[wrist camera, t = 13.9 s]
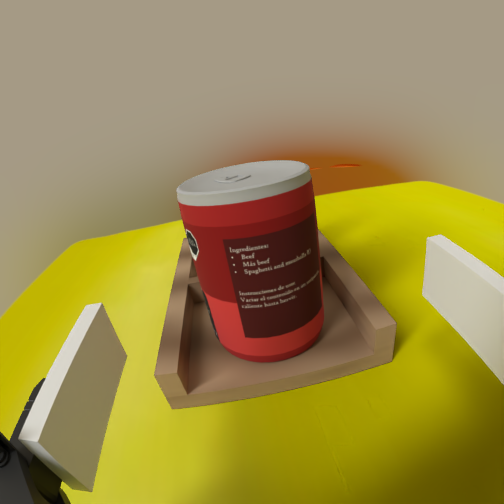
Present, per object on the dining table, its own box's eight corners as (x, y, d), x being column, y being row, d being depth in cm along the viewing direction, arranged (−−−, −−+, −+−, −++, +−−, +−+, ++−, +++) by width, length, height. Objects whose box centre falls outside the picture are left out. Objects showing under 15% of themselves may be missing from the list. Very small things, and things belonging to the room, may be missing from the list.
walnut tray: (190, 262, 38) (183, 238, 37) (307, 239, 39) (304, 214, 37) (172, 409, 18) (154, 375, 17) (391, 361, 19) (396, 323, 17)
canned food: (249, 292, 27) (223, 164, 23) (339, 306, 23) (328, 157, 19) (194, 348, 22) (146, 196, 17) (298, 379, 18) (272, 191, 13)
